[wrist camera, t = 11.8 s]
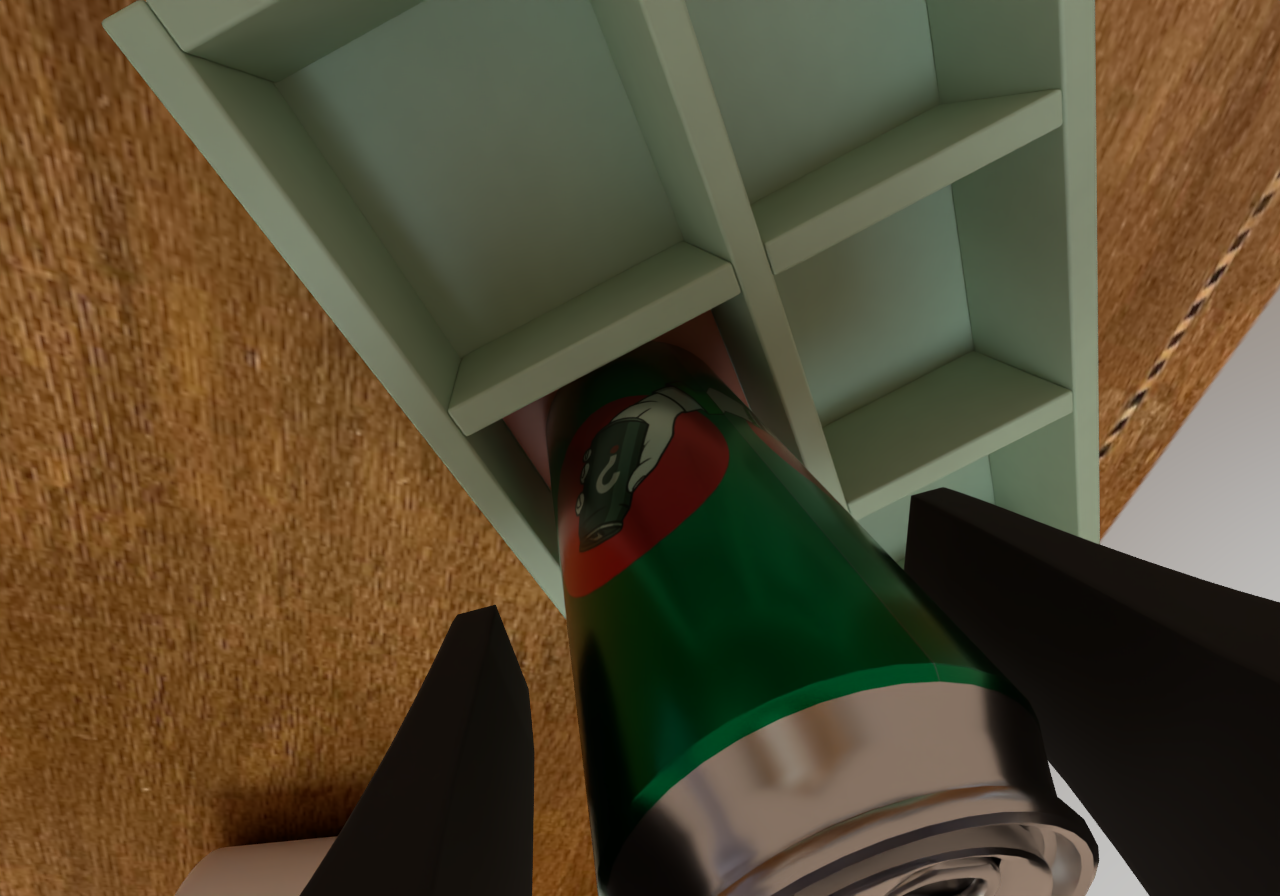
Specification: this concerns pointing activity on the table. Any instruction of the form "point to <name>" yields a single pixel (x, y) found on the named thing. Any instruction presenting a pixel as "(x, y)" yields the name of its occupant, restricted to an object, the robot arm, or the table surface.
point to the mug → (257, 869)
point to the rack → (683, 221)
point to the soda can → (774, 672)
